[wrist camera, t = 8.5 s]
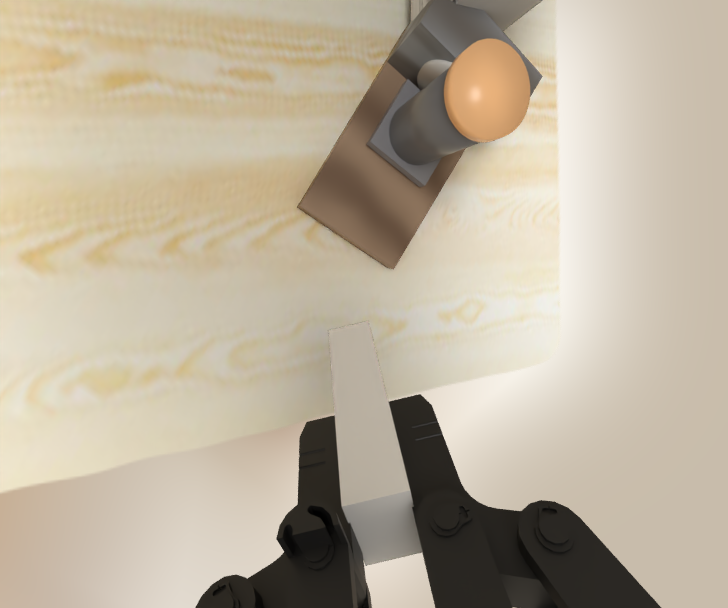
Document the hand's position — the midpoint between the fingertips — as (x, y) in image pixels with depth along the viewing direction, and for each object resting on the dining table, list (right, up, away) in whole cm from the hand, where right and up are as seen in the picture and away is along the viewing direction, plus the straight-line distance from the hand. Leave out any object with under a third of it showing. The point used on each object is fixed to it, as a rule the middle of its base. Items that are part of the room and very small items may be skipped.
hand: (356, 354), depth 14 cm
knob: (+4, +16, +18) cm, 25 cm away
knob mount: (+3, +16, +20) cm, 25 cm away
